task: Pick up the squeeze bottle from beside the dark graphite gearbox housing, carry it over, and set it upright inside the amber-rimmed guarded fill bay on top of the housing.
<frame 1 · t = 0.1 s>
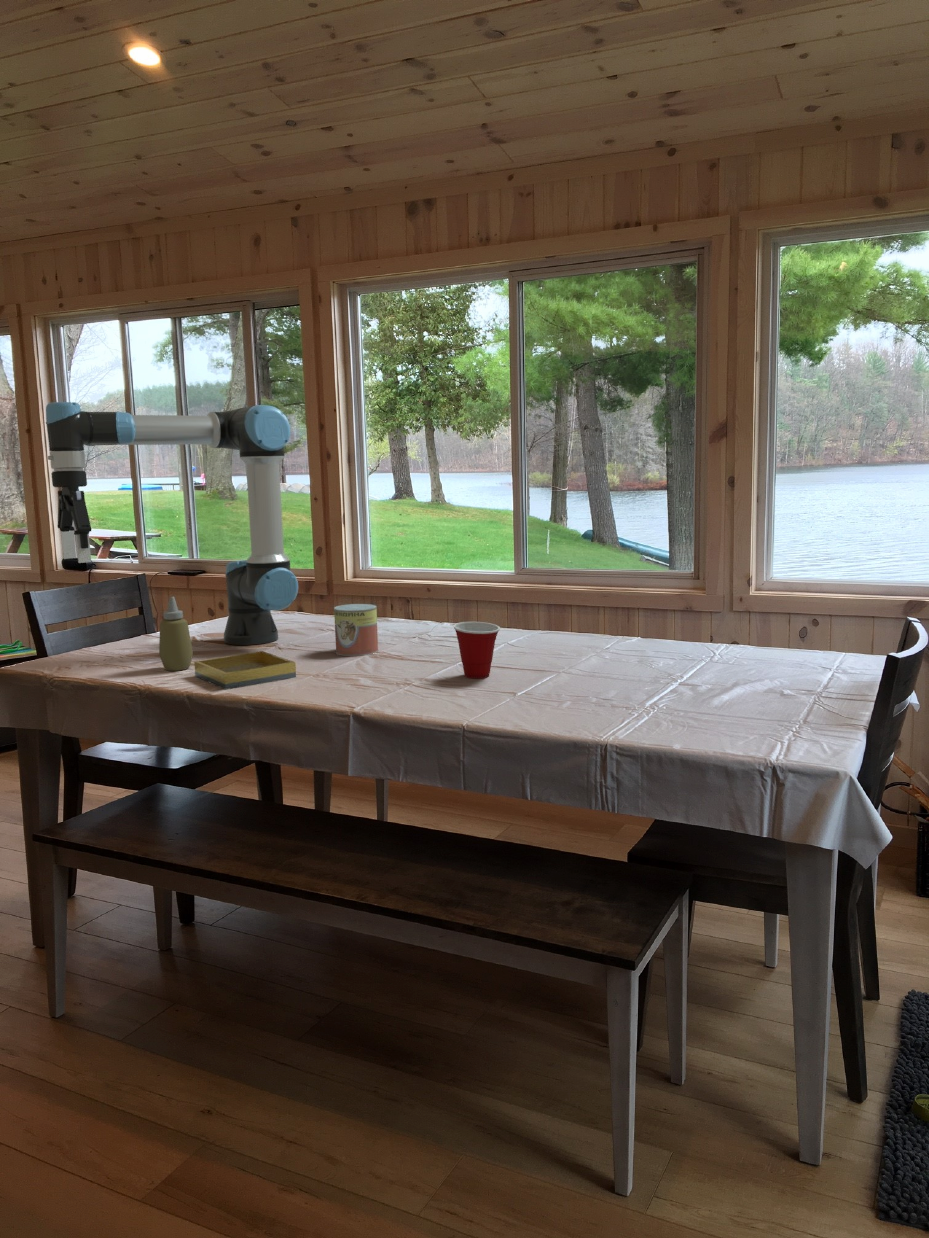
hand: (77, 560, 221), 28 cm above the table, fingers open, 13 cm apart
canned food: (357, 652, 247), on the table
squeeze bottle: (177, 669, 230), on the table
plastic cup: (477, 676, 216), on the table
gearbox bay: (245, 676, 220), on the table
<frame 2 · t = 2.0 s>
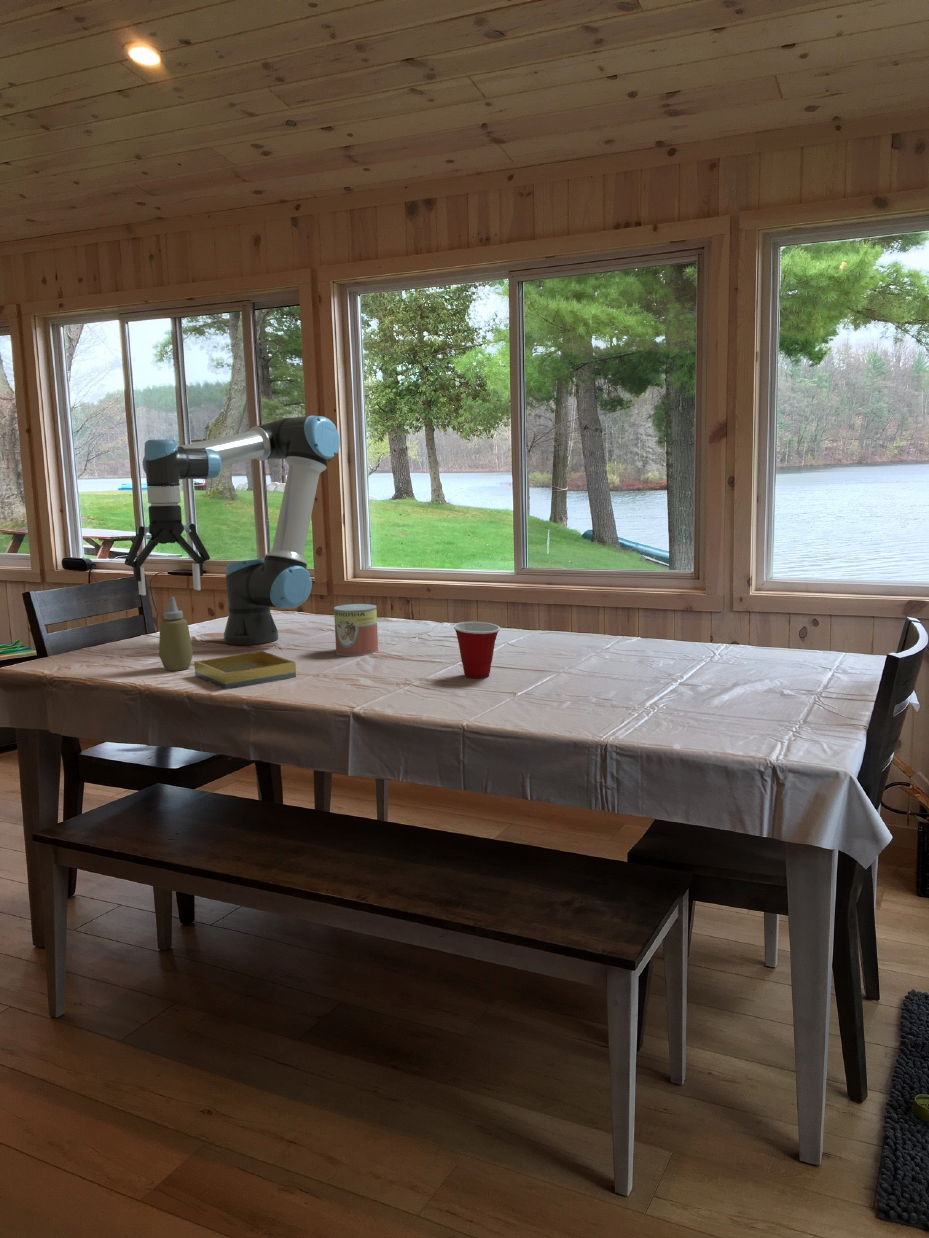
hand: (170, 592, 227), 19 cm above the table, fingers open, 13 cm apart
nothing on the table moved.
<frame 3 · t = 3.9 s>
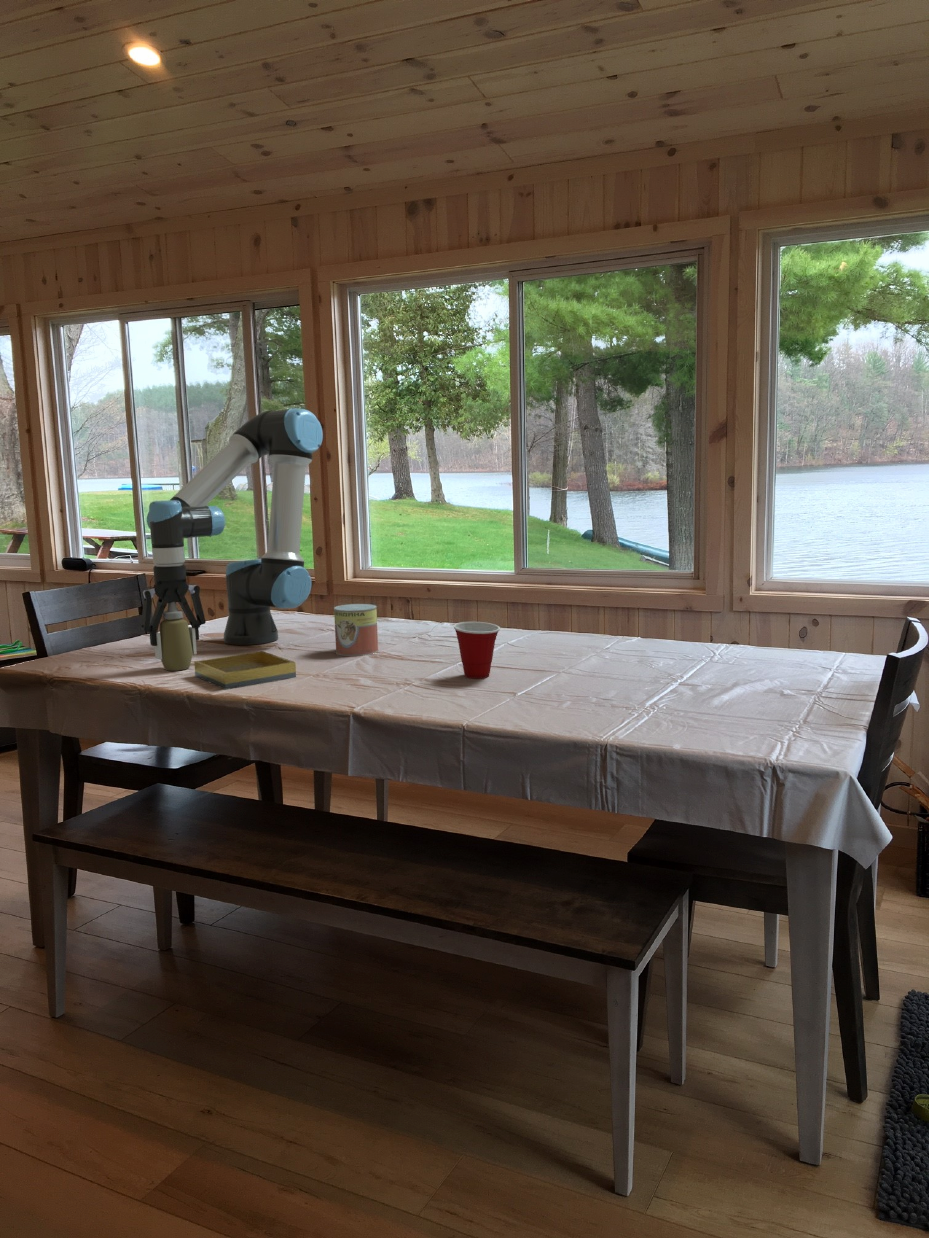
hand: (176, 655, 230), 3 cm above the table, fingers closed on squeeze bottle, 8 cm apart
squeeze bottle: (177, 669, 230), on the table, touching gripper
everything else where it was.
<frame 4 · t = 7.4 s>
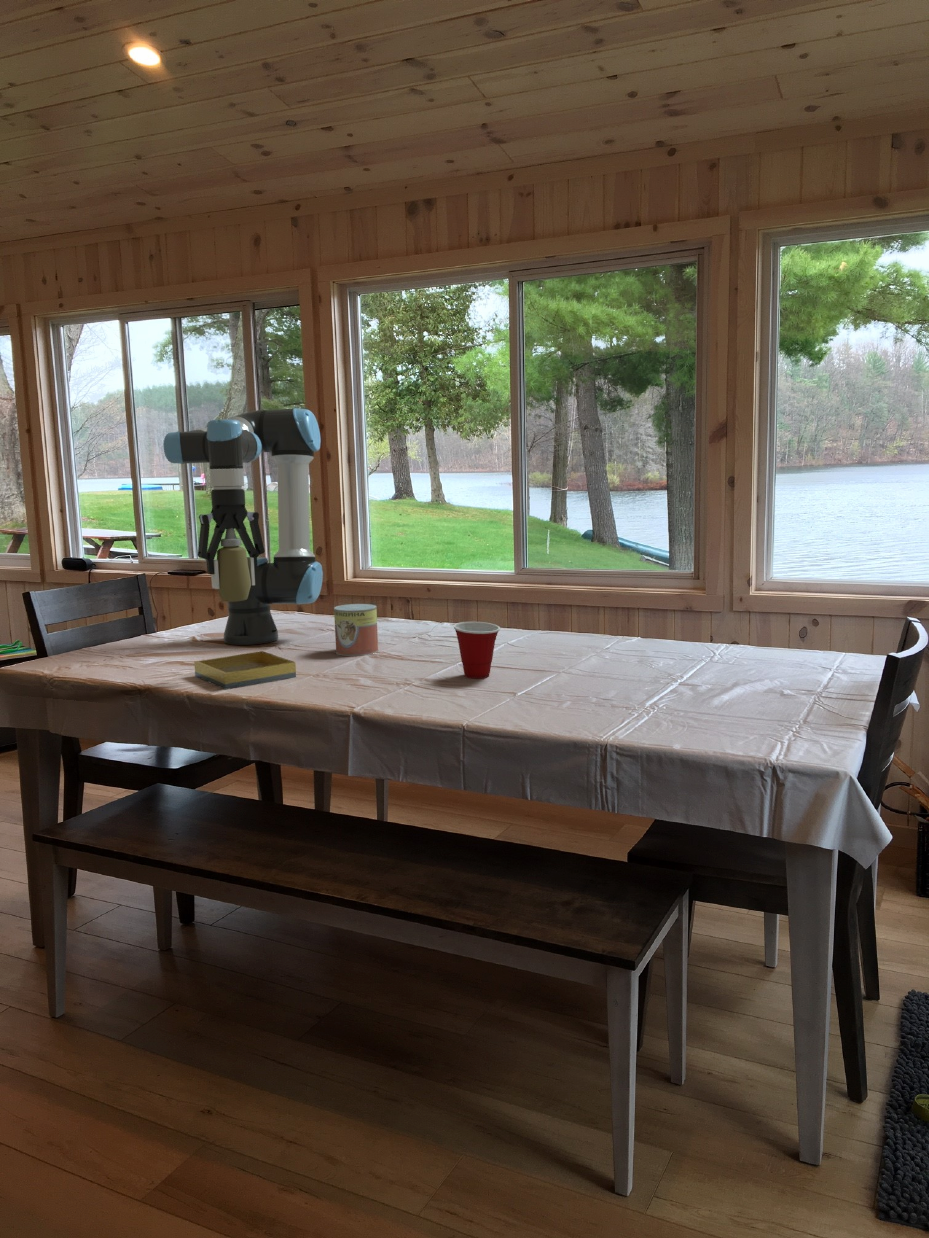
hand: (233, 586, 217), 22 cm above the table, fingers closed on squeeze bottle, 8 cm apart
squeeze bottle: (234, 601, 218), point 18 cm above the table, touching gripper
everything else where it was.
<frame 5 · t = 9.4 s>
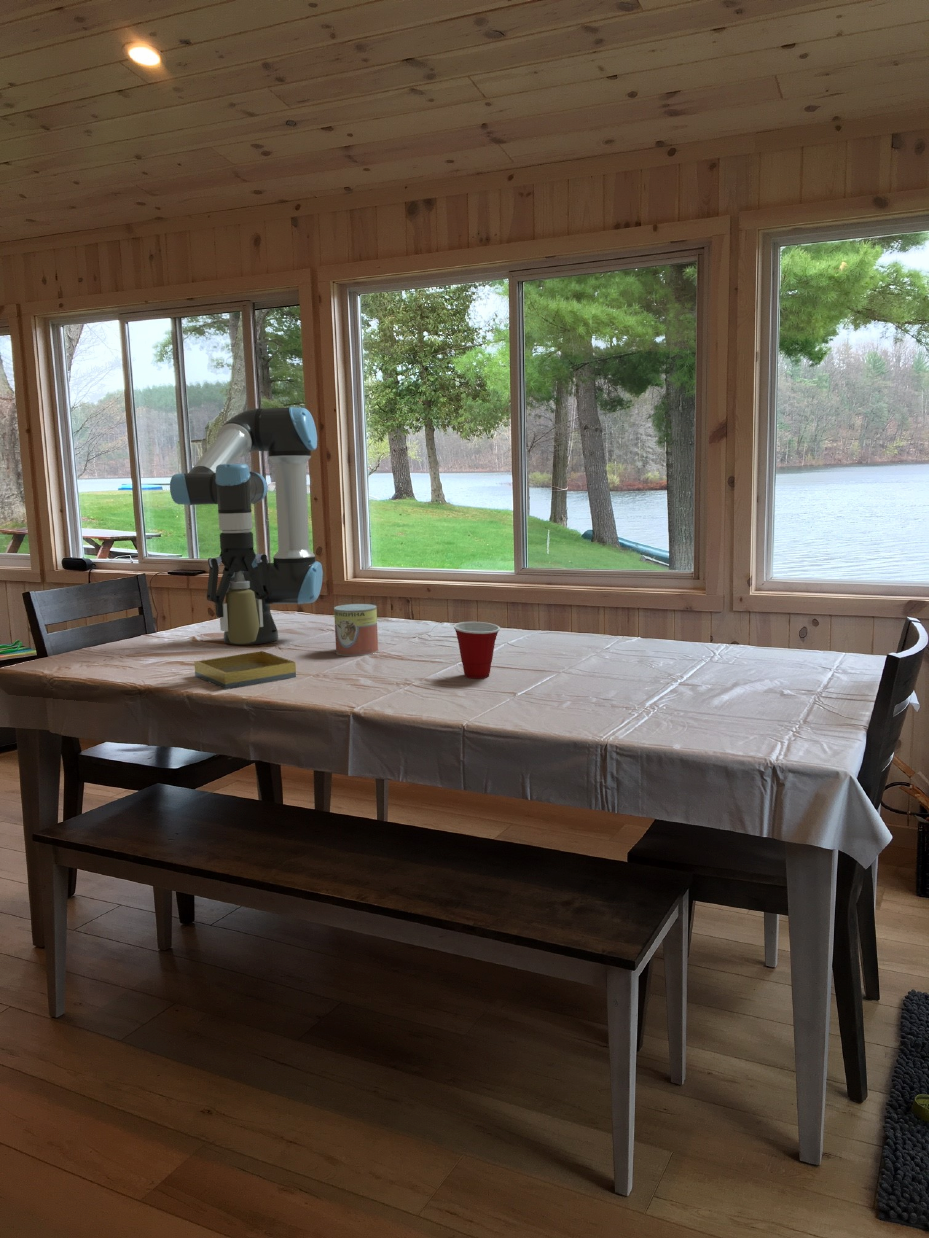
hand: (242, 628, 218), 12 cm above the table, fingers closed on squeeze bottle, 8 cm apart
squeeze bottle: (243, 642, 219), point 8 cm above the table, touching gripper
everything else where it was.
when the fingers open (6 cm above the table, at t = 11.0 s): squeeze bottle drops 1 cm, resting on gearbox bay.
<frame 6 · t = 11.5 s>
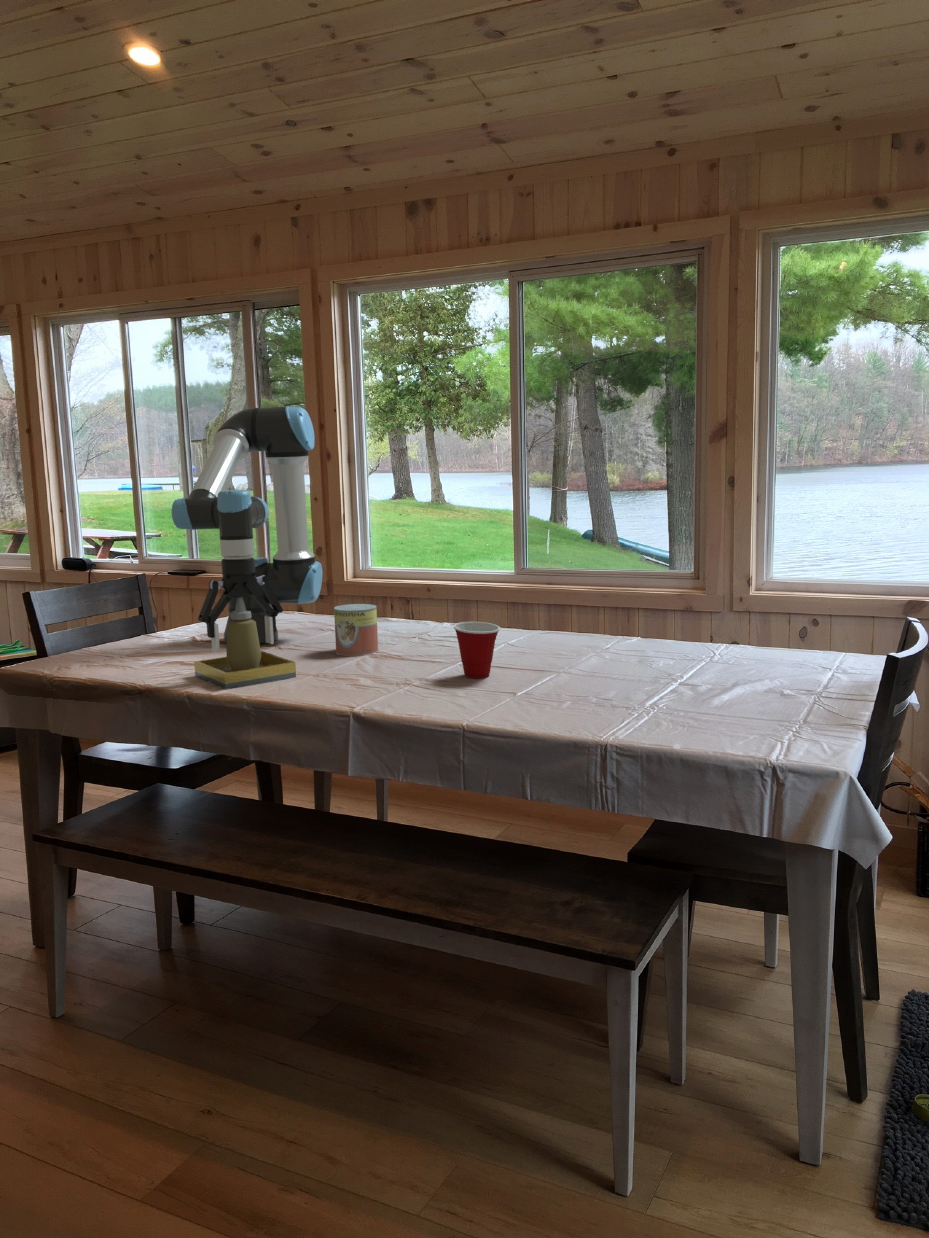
hand: (243, 647, 219), 7 cm above the table, fingers open, 13 cm apart
squeeze bottle: (245, 672, 220), point 1 cm above the table, touching gearbox bay
everything else where it was.
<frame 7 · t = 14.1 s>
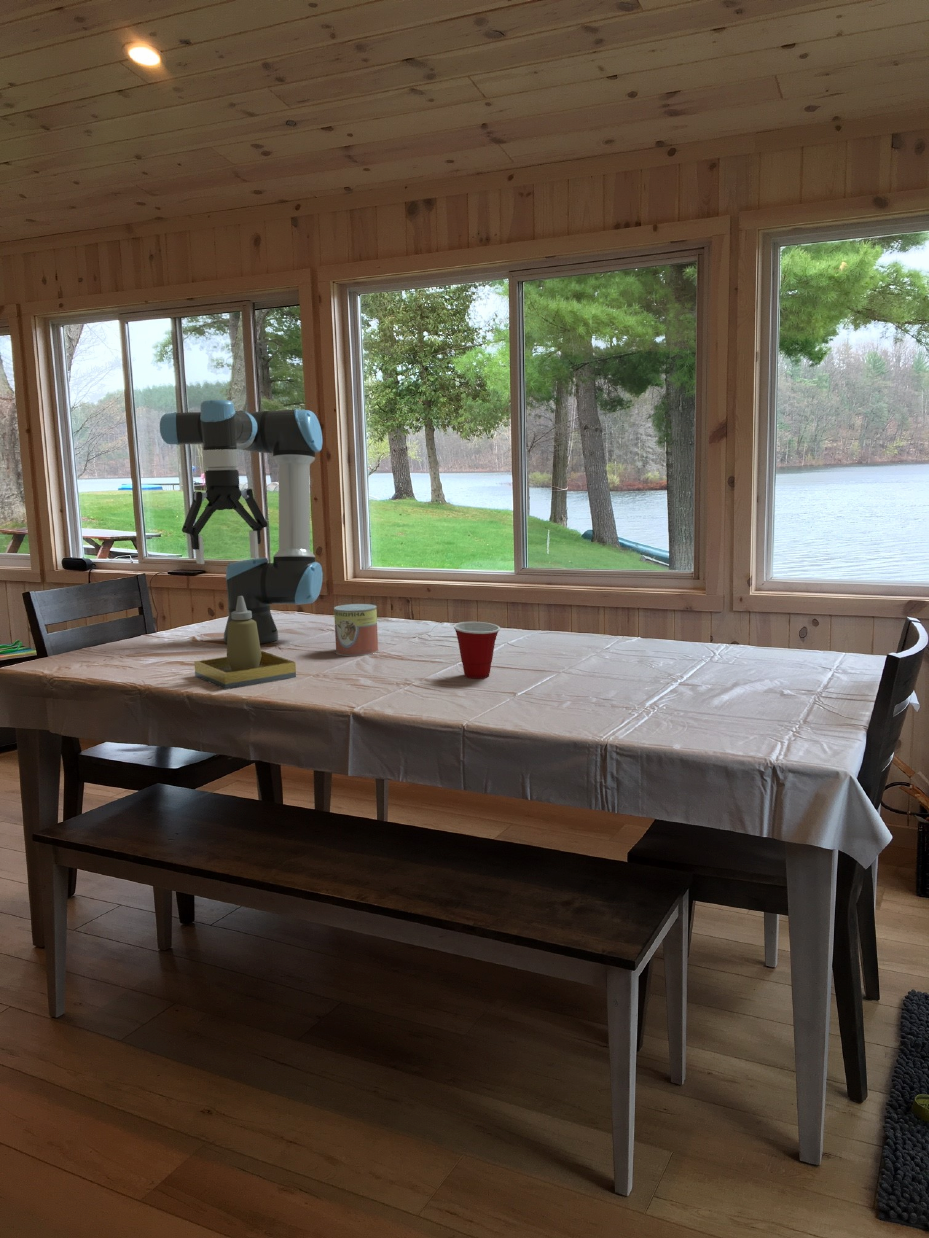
hand: (228, 561, 218), 27 cm above the table, fingers open, 13 cm apart
nothing on the table moved.
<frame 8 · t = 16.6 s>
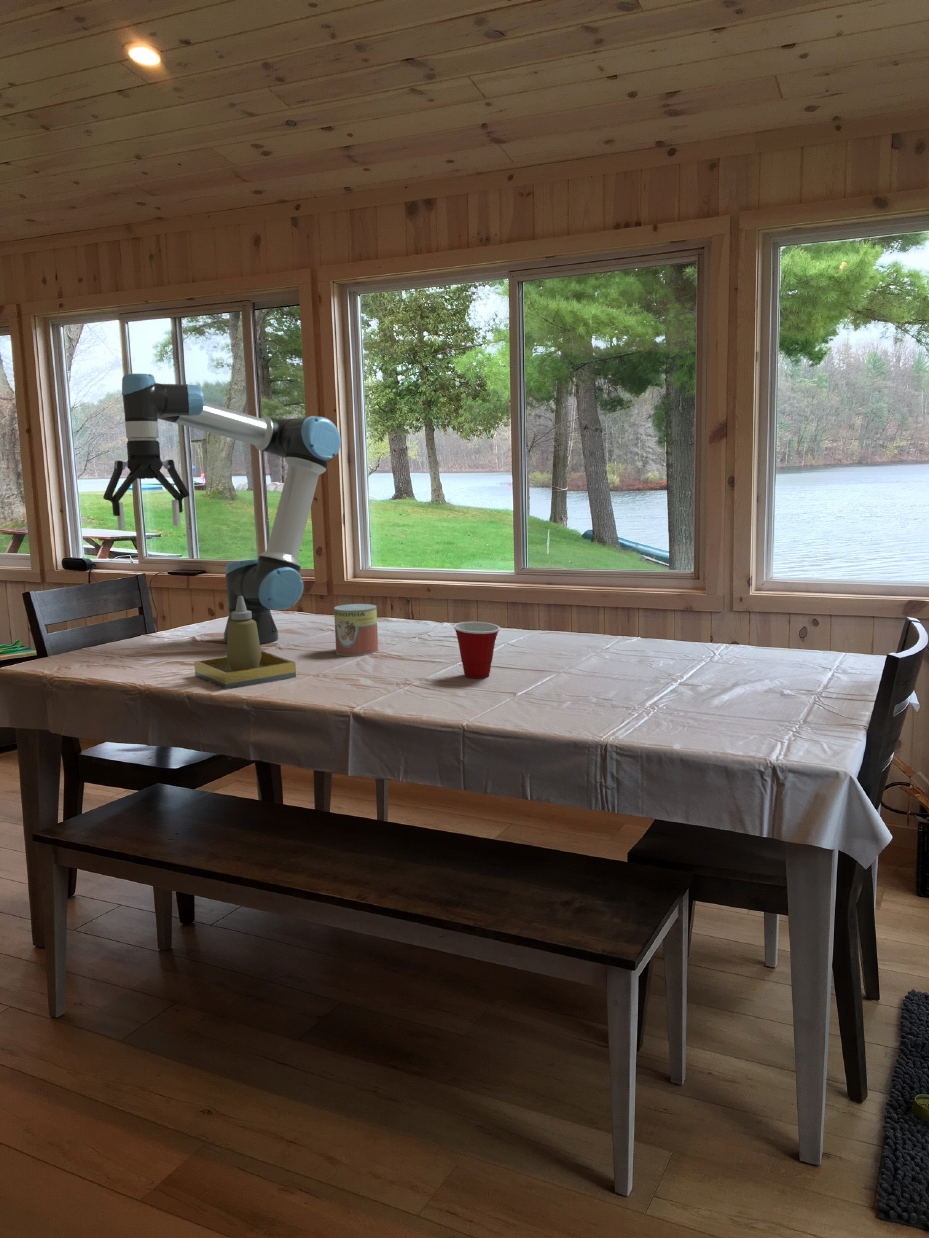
hand: (149, 528, 228), 35 cm above the table, fingers open, 13 cm apart
nothing on the table moved.
at the end: squeeze bottle inside the target area on the gearbox bay (0.0 cm from its centre), point 1.0 cm above the gearbox bay's base; squeeze bottle tilted 0°; the gripper is holding nothing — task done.
